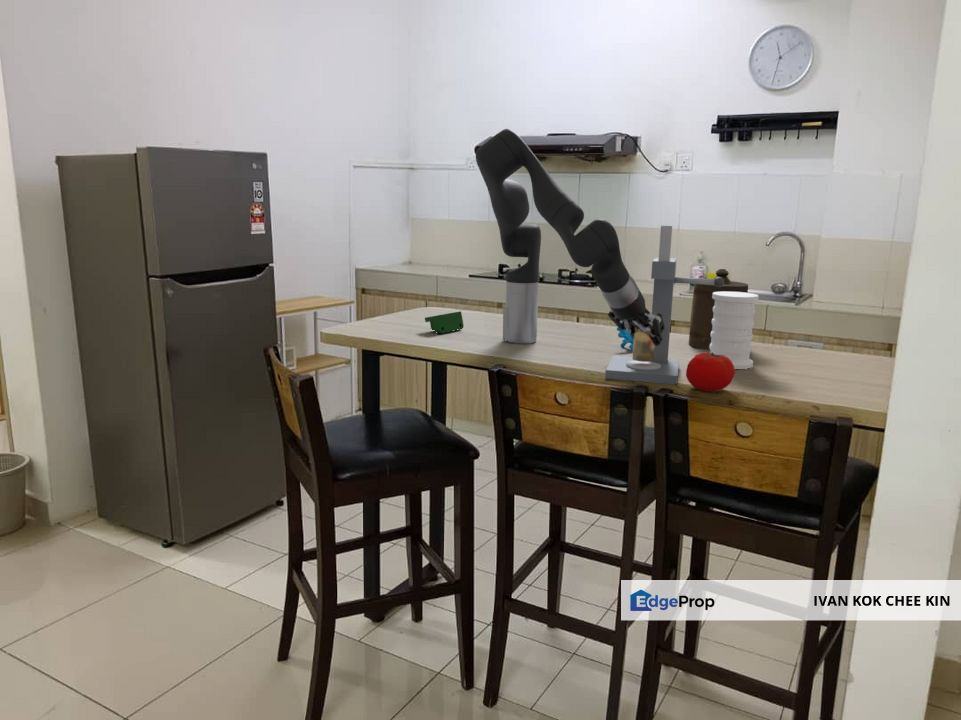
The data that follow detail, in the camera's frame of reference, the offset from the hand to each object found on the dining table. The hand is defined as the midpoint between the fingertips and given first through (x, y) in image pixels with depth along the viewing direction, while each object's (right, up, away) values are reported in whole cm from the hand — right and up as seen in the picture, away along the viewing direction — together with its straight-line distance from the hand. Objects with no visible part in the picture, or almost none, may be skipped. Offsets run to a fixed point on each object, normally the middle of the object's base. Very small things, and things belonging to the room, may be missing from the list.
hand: (649, 340), depth 172 cm
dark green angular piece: (-51, +4, +51) cm, 73 cm away
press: (+3, -8, +1) cm, 9 cm away
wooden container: (+27, -1, +36) cm, 45 cm away
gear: (+2, -2, +30) cm, 30 cm away
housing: (-2, -4, 0) cm, 5 cm away
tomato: (+10, -11, -12) cm, 19 cm away
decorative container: (+23, -6, +13) cm, 27 cm away
